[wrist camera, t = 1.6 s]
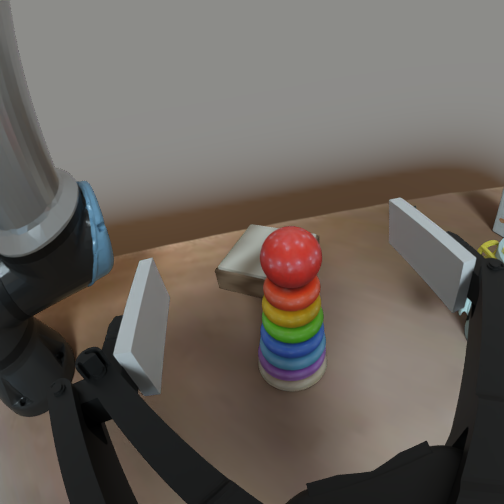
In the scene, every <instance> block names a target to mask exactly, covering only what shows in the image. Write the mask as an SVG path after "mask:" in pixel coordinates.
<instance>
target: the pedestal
mask: <svg viewBox="0 0 504 504" xmlns="http://www.w3.org/2000/svg"><path fill="white" fill-rule="evenodd" d="M277 229H279V228H272V227H266V226H259V225H252V224H251V225H250V226H249V228H248V229H247V230H246V231H245V233H244V234H243V235H242V236H241V238H240V239H239V240H238V241H237V243H236V244H235V245H234V247H233V248H232V249H231V250H230V252H229V253H228V254H227V256H226V257H225V258H224V259H223V261H222V262H221V263H220V265H219V266H218V267H217V268H216V270H215V273H216V276H217V280H218V284H219V287H220V288H222V289H226V290H230V291H234V292H238V293H242V294H246V295H250V296H254V297H258V298H263V296H264V292H263V285H264V281H265V279H266V277H267V276H266V275H265V273H264V271H263V270H262V267H261V263H260V252H261V248H262V245H263V243H264V241H265V239H266V238H267V237H268V236H269V235H270V234H271V233H272V232H274V231H275V230H277ZM312 235H313V236H314V237H315V238H316V240H317V241H318V243H319V236H317V235H316V234H312Z"/></svg>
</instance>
